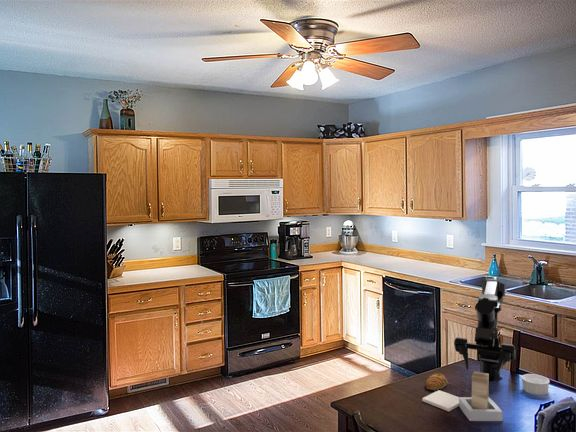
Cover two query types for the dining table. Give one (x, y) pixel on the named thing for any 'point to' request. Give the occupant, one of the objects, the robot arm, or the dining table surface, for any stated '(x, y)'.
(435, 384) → the pastry
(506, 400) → the dining table surface
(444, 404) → the tile
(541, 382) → the ramekin
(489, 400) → the holder
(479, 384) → the peg
